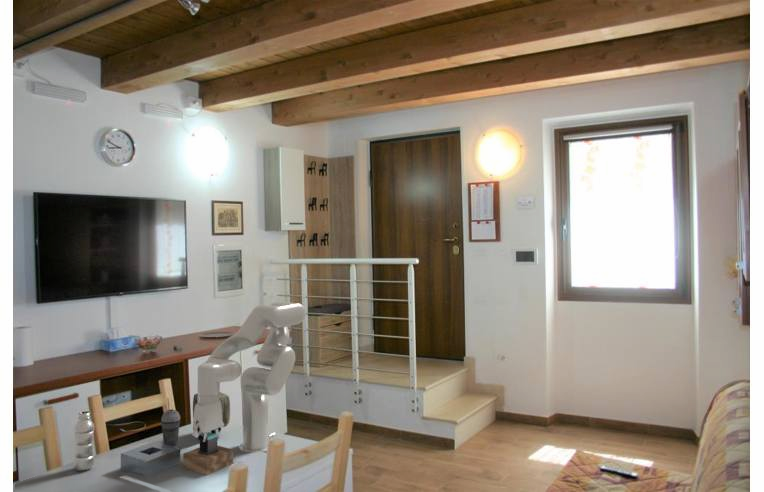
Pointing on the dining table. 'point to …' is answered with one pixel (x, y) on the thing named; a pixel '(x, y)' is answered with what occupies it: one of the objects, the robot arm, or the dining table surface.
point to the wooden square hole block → (207, 460)
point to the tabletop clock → (224, 403)
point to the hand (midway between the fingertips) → (208, 449)
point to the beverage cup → (170, 426)
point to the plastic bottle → (84, 442)
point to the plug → (211, 443)
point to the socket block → (150, 458)
